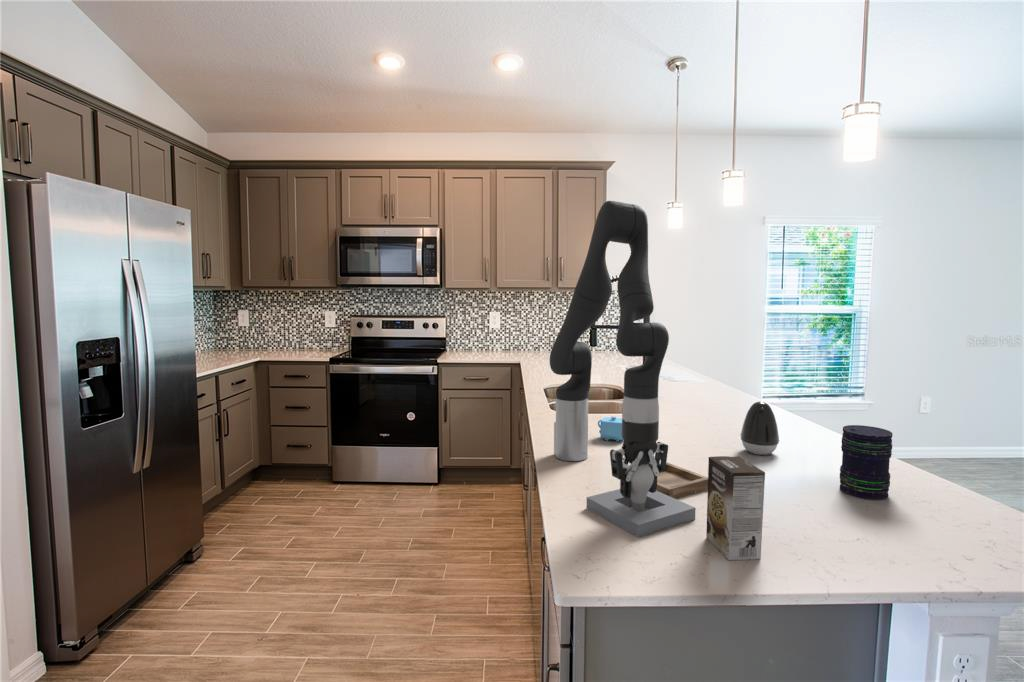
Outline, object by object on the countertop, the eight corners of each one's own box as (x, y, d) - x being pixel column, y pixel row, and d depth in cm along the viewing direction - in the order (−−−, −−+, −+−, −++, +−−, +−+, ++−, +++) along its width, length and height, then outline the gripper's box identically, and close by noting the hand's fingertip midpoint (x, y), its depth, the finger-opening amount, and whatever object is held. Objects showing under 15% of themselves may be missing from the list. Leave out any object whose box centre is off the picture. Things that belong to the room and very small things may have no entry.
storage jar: (881, 487, 127) (885, 427, 126) (895, 502, 118) (900, 437, 116) (834, 482, 130) (837, 423, 129) (844, 497, 121) (848, 433, 120)
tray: (626, 481, 132) (626, 471, 131) (666, 471, 139) (666, 462, 138) (669, 500, 120) (669, 489, 119) (710, 488, 127) (710, 478, 126)
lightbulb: (652, 520, 109) (654, 468, 108) (622, 516, 110) (623, 465, 109) (653, 508, 115) (654, 459, 114) (624, 505, 116) (625, 457, 115)
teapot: (636, 439, 170) (636, 416, 169) (633, 444, 164) (634, 420, 163) (599, 435, 174) (599, 413, 173) (595, 440, 168) (595, 417, 168)
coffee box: (704, 537, 101) (707, 456, 100) (736, 536, 102) (739, 455, 101) (727, 561, 92) (730, 472, 91) (762, 559, 93) (766, 471, 91)
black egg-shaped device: (740, 455, 152) (742, 403, 151) (739, 445, 162) (741, 397, 160) (779, 459, 148) (782, 406, 147) (776, 449, 158) (778, 399, 157)
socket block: (586, 508, 115) (586, 497, 115) (640, 494, 123) (640, 483, 123) (638, 537, 102) (638, 524, 101) (695, 519, 110) (695, 507, 109)
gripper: (654, 410, 117) (653, 483, 119) (601, 417, 111) (600, 493, 112) (679, 417, 110) (676, 494, 112) (624, 425, 104) (622, 506, 106)
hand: (638, 493), depth 112 cm, fingers closed on lightbulb, 6 cm apart
